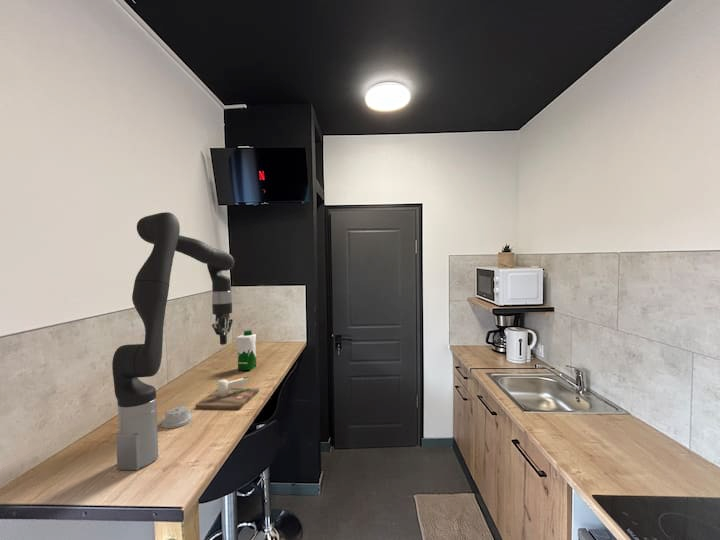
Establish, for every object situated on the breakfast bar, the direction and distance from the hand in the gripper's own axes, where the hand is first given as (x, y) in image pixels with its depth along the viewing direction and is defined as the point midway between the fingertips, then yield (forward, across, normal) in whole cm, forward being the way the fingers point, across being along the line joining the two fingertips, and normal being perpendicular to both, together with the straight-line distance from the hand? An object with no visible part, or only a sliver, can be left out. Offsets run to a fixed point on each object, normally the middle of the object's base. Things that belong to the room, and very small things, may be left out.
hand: (223, 344), depth 140 cm
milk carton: (+23, +41, +9) cm, 48 cm away
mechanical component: (+24, -20, +8) cm, 32 cm away
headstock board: (+23, 0, -2) cm, 23 cm away
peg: (+21, +3, -2) cm, 22 cm away
